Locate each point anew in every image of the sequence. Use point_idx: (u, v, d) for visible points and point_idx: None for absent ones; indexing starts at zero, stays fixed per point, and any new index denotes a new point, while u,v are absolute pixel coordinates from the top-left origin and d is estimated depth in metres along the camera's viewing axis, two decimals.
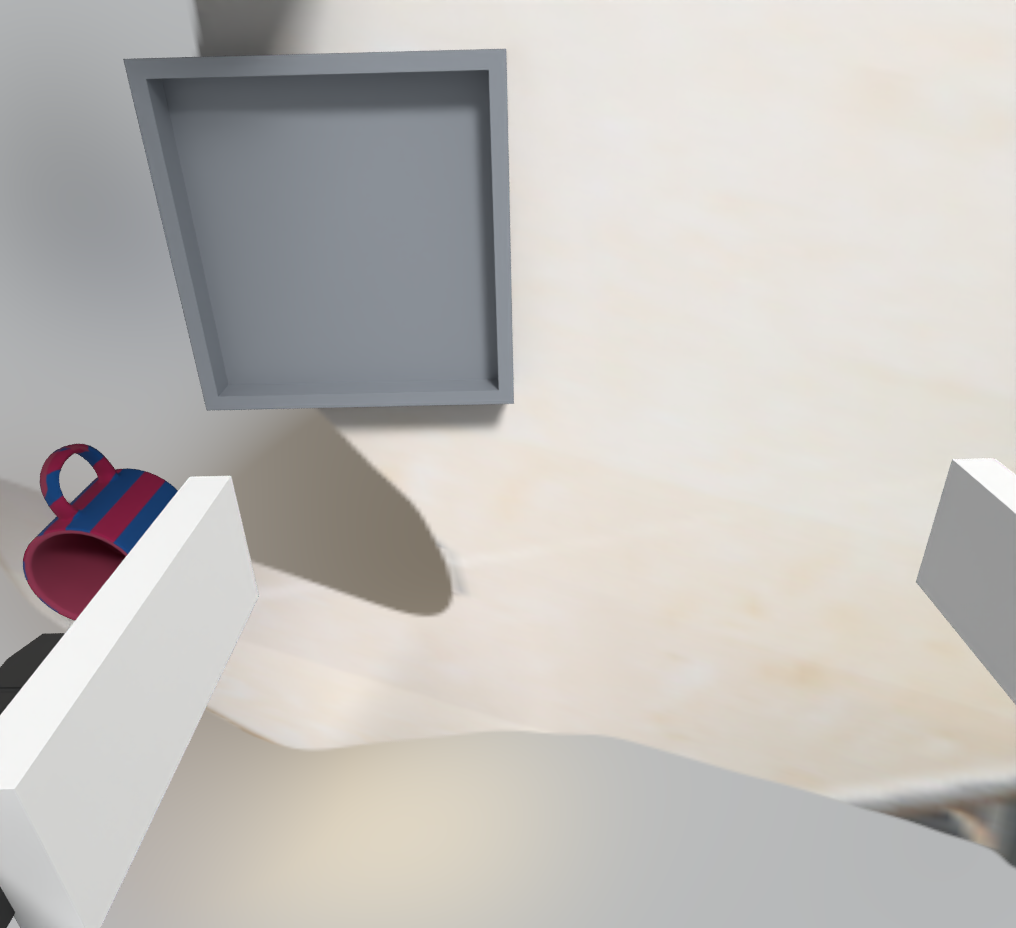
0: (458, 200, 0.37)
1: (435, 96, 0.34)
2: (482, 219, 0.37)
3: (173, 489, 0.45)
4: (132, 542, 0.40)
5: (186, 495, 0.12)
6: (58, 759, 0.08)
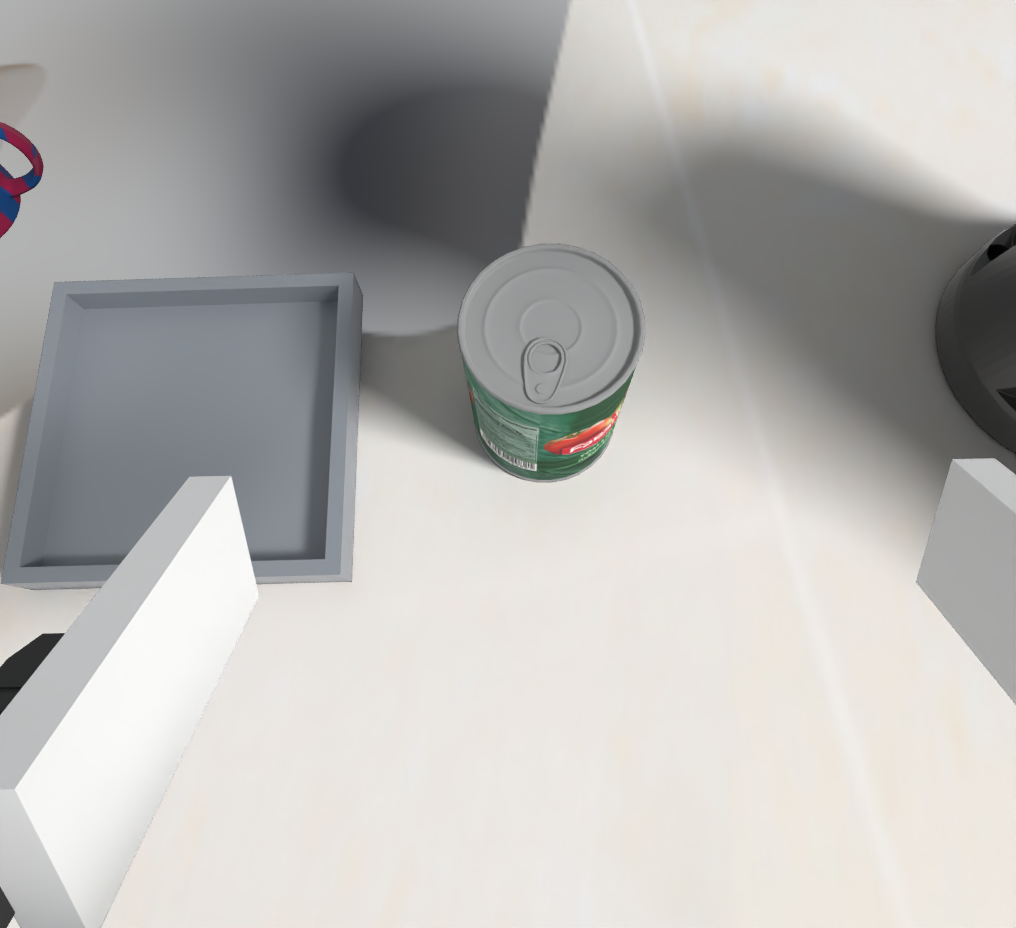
0: None
1: (316, 516, 0.39)
2: None
3: None
4: None
5: (186, 495, 0.12)
6: (58, 759, 0.08)
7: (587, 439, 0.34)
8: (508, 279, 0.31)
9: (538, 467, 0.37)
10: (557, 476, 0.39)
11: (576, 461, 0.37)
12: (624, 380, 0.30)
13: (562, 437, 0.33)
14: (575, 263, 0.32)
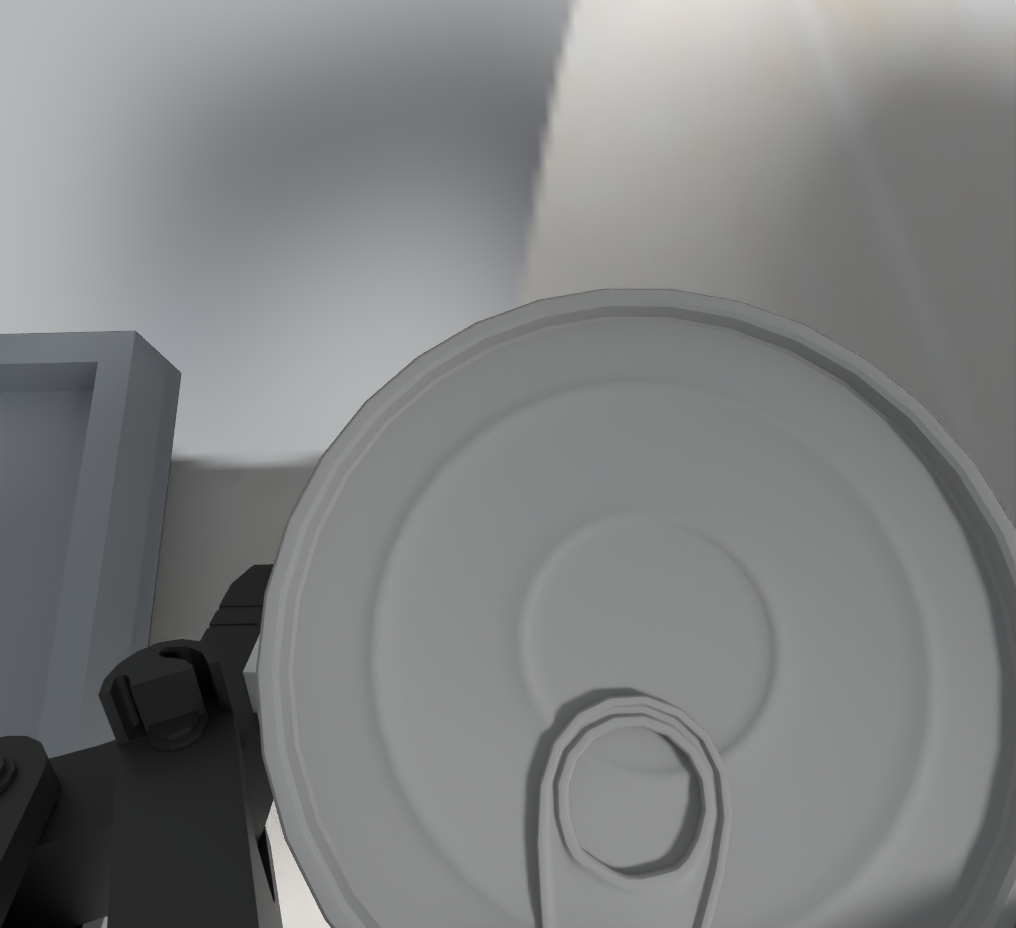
0: None
1: None
2: None
3: None
4: None
5: None
6: None
7: None
8: (479, 425, 0.08)
9: None
10: None
11: None
12: None
13: None
14: (732, 364, 0.08)
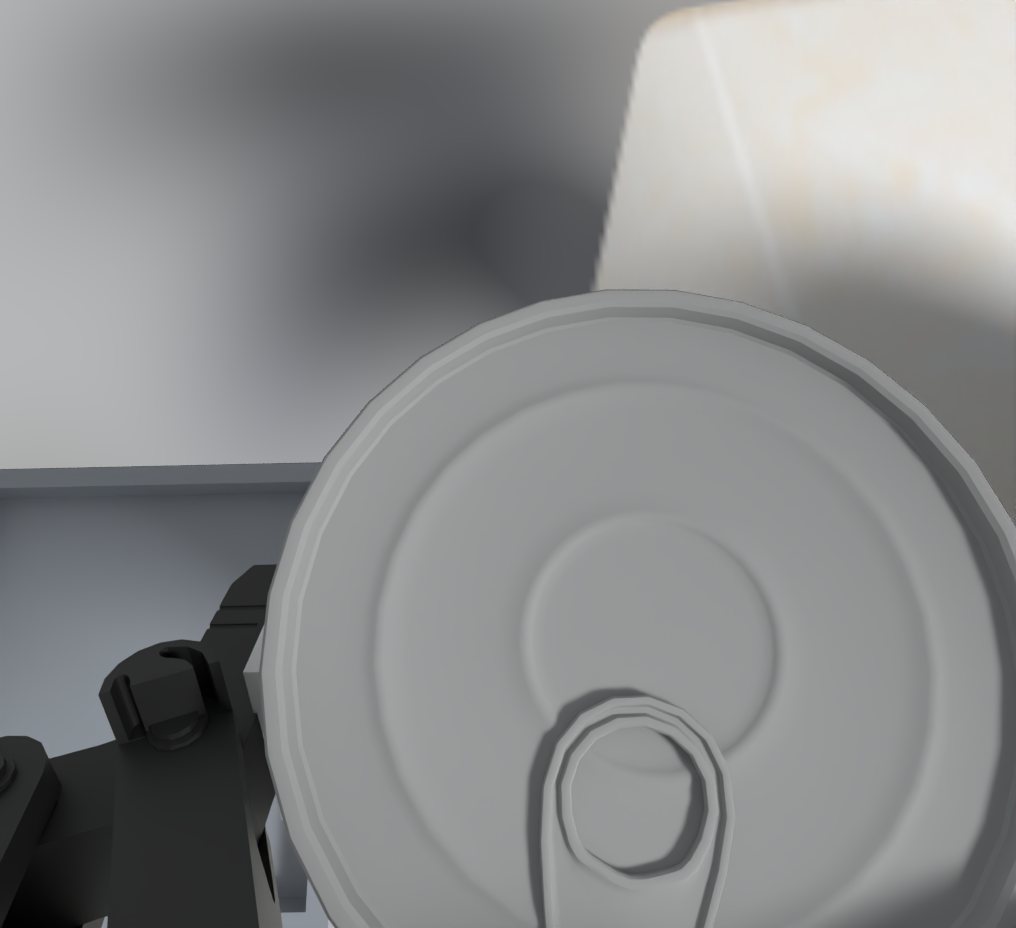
0: None
1: None
2: None
3: None
4: None
5: None
6: None
7: None
8: (482, 426, 0.08)
9: None
10: None
11: None
12: None
13: None
14: (734, 364, 0.08)
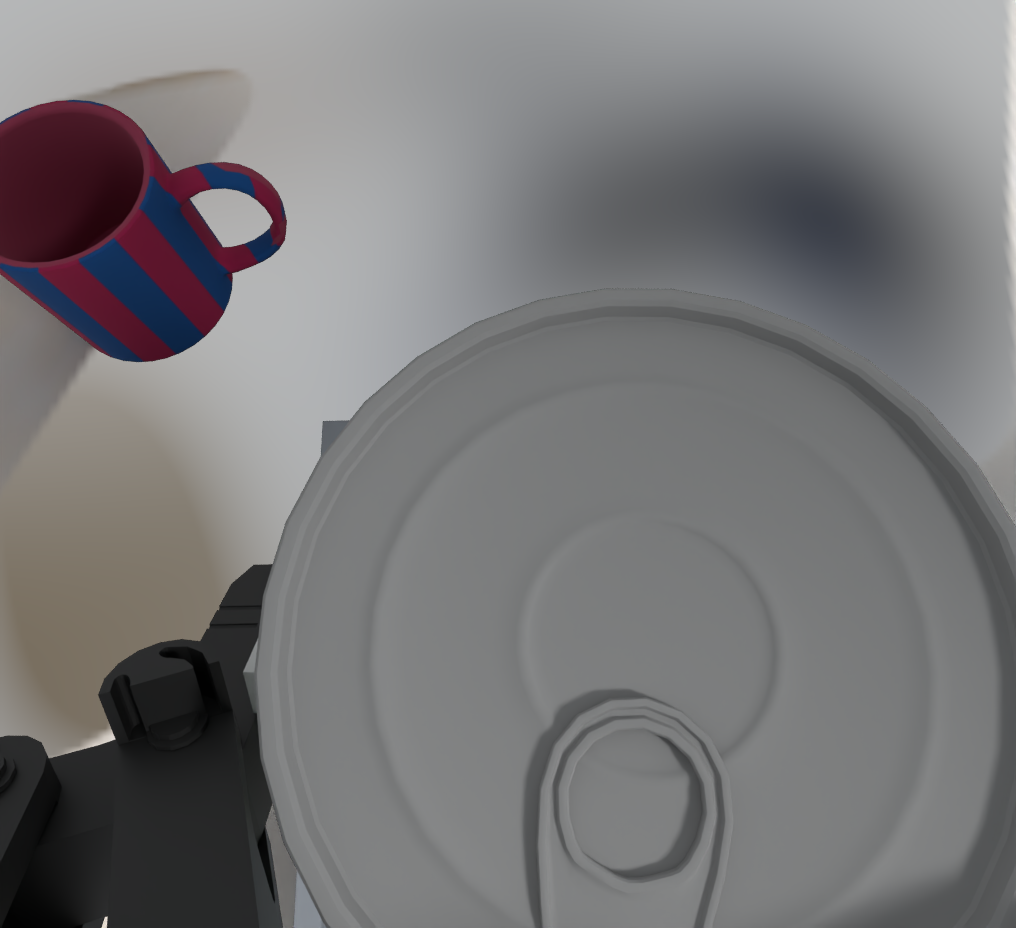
0: None
1: None
2: None
3: (188, 344, 0.29)
4: (108, 267, 0.24)
5: None
6: None
7: None
8: (479, 426, 0.08)
9: None
10: None
11: None
12: None
13: None
14: (733, 365, 0.08)
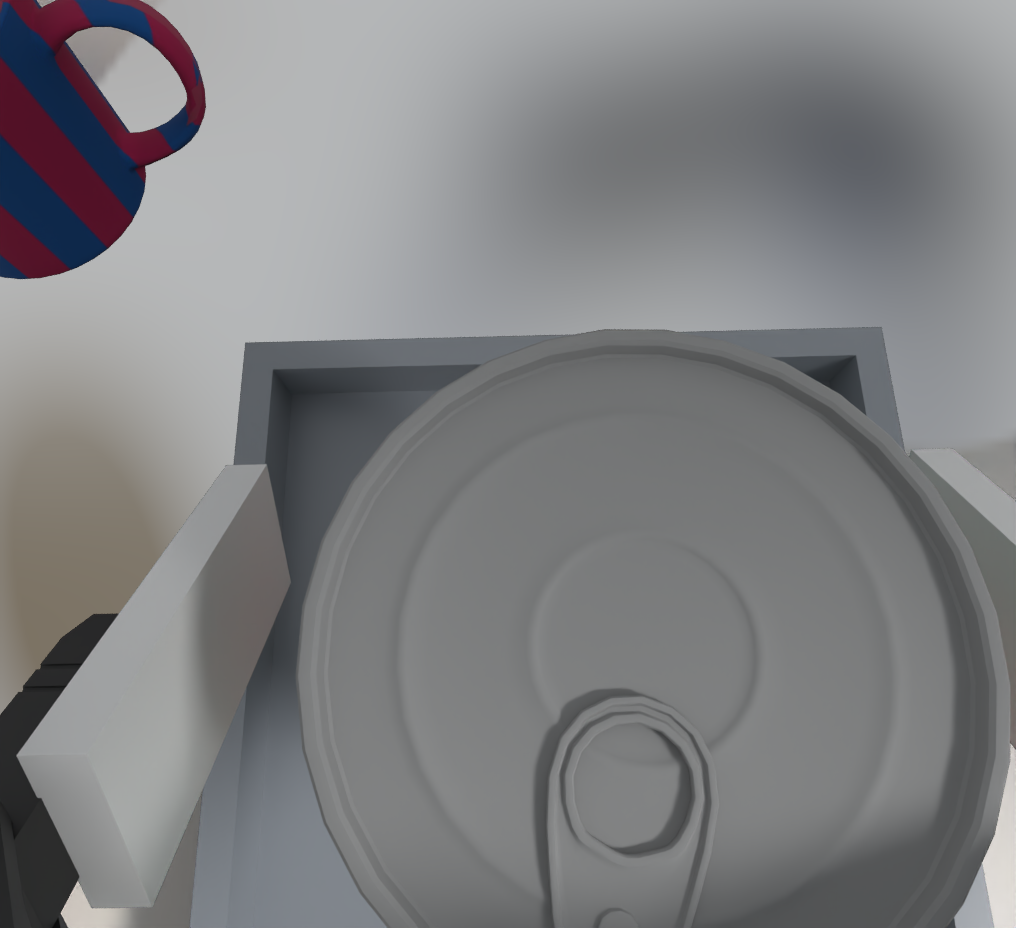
0: None
1: None
2: None
3: (85, 257, 0.23)
4: None
5: (225, 483, 0.13)
6: (123, 729, 0.08)
7: None
8: (492, 453, 0.09)
9: None
10: None
11: None
12: (958, 907, 0.07)
13: None
14: (719, 398, 0.09)
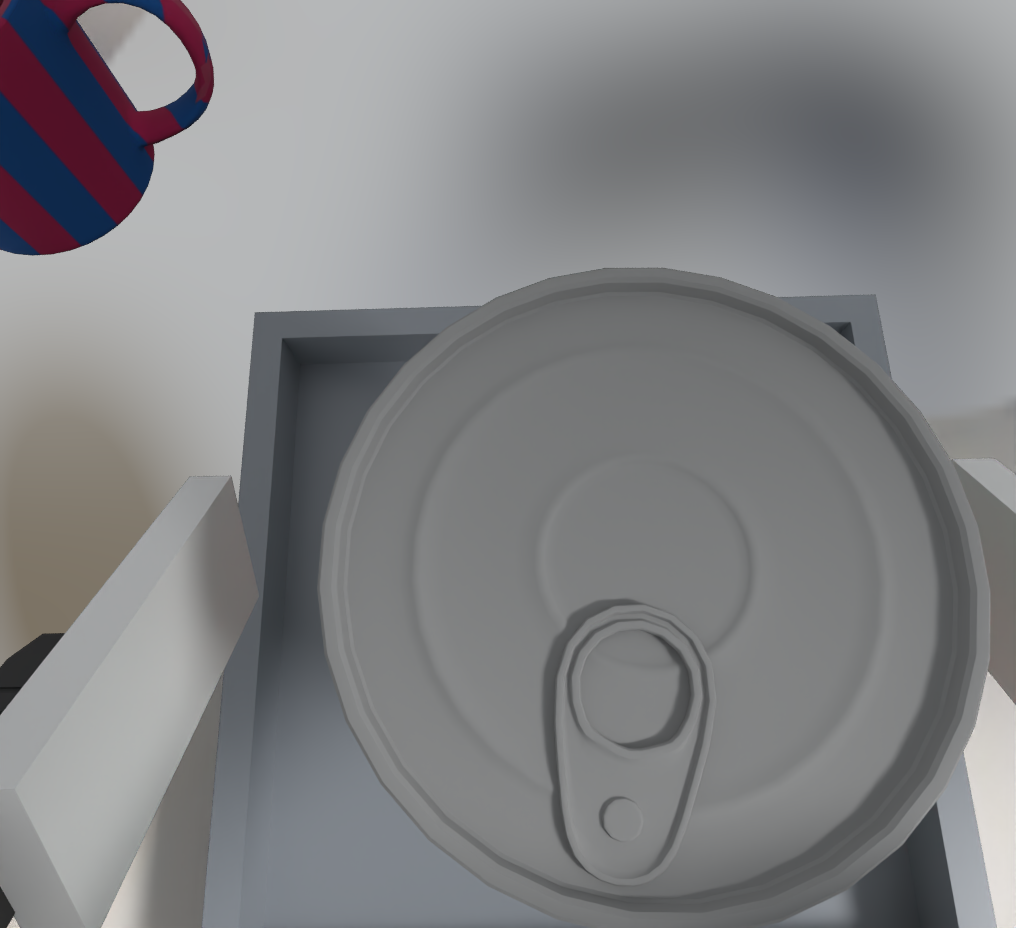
0: None
1: None
2: None
3: (96, 233, 0.23)
4: None
5: (186, 495, 0.12)
6: (58, 759, 0.08)
7: None
8: (500, 385, 0.09)
9: None
10: None
11: None
12: (941, 791, 0.08)
13: None
14: (715, 331, 0.10)
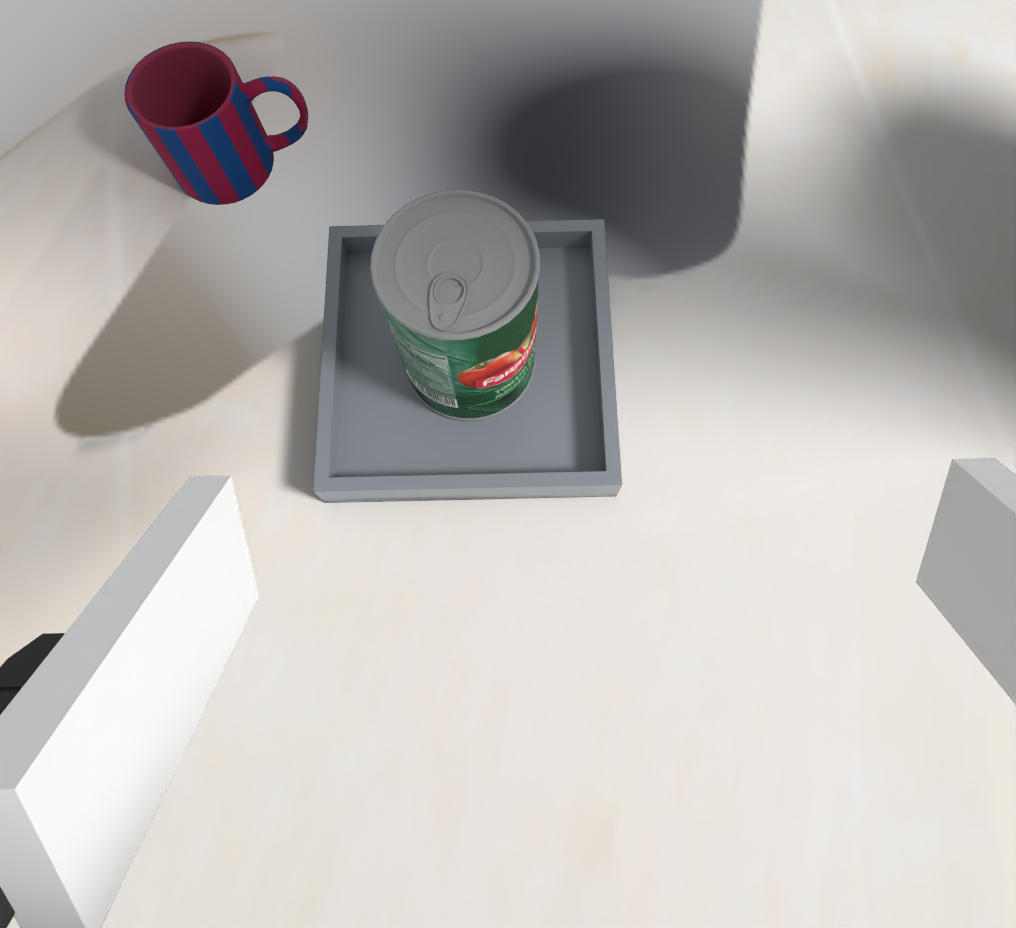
0: (502, 452, 0.42)
1: (582, 437, 0.43)
2: (486, 472, 0.42)
3: (248, 194, 0.48)
4: (212, 132, 0.43)
5: (186, 495, 0.12)
6: (58, 759, 0.08)
7: (497, 372, 0.37)
8: (419, 221, 0.34)
9: (458, 403, 0.40)
10: (479, 414, 0.42)
11: (493, 397, 0.40)
12: (519, 309, 0.33)
13: (471, 368, 0.36)
14: (479, 207, 0.35)
